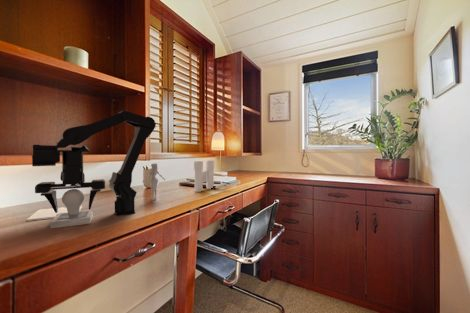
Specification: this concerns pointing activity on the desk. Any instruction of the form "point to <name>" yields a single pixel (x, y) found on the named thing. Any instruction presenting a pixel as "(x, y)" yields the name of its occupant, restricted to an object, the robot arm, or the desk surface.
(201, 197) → the desk surface
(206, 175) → the binoculars
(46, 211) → the mat
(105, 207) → the desk surface
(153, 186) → the human figurine
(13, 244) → the desk surface
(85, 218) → the grey flat square frame
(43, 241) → the desk surface
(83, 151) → the robot arm
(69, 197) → the lightbulb
